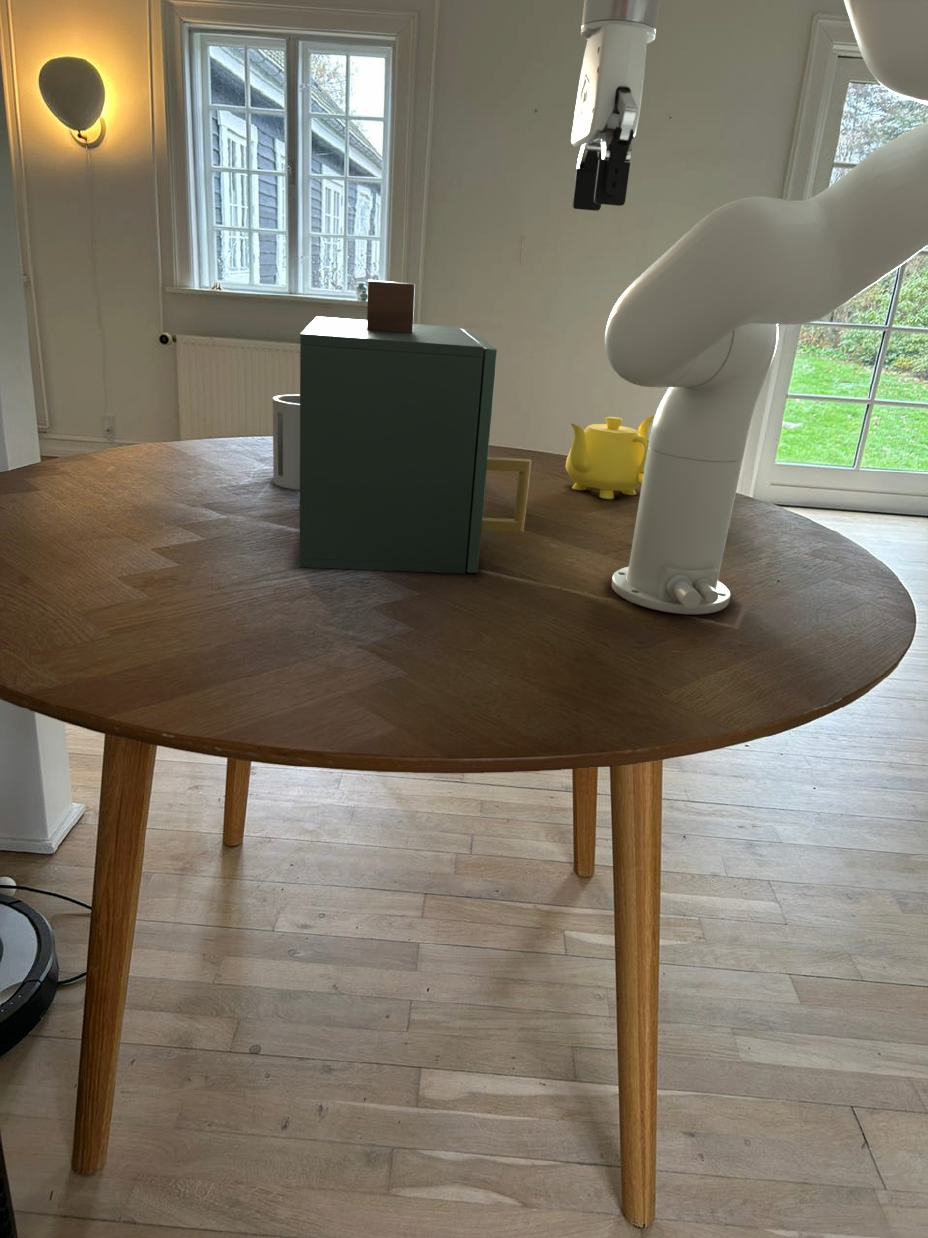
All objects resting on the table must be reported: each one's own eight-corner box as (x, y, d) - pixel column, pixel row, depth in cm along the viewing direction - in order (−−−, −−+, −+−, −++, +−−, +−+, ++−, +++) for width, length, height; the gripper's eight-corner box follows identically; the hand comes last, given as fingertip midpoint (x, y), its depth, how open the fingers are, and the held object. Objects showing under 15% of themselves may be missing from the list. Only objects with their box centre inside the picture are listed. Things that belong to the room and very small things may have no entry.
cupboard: (446, 509, 118) (459, 327, 108) (465, 573, 94) (484, 346, 85) (314, 503, 115) (316, 316, 106) (299, 567, 92) (300, 333, 82)
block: (412, 333, 93) (415, 284, 92) (366, 329, 93) (368, 280, 91) (410, 329, 98) (413, 283, 96) (366, 326, 97) (368, 279, 95)
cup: (345, 480, 128) (347, 399, 124) (321, 493, 120) (322, 407, 116) (290, 472, 130) (290, 392, 126) (262, 485, 122) (261, 399, 117)
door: (493, 510, 118) (509, 332, 109) (523, 574, 95) (547, 353, 85) (448, 508, 118) (461, 328, 108) (466, 572, 94) (485, 348, 85)
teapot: (604, 511, 123) (616, 432, 119) (530, 487, 133) (539, 413, 129) (684, 496, 136) (697, 423, 132) (611, 475, 146) (621, 407, 142)
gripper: (564, 36, 93) (547, 208, 100) (606, -10, 78) (582, 198, 84) (630, 43, 94) (609, 214, 101) (684, 0, 79) (655, 205, 85)
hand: (596, 206), depth 93 cm, fingers open, 9 cm apart
